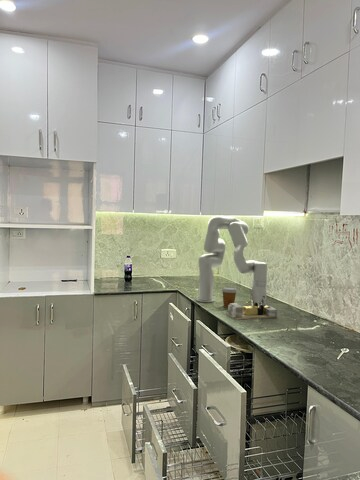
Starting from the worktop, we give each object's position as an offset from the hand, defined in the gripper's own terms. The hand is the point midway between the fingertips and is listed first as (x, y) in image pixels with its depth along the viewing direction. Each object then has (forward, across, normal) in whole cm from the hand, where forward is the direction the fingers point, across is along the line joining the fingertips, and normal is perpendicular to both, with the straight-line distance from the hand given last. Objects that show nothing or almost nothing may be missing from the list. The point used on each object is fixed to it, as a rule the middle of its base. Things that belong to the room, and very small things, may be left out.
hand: (258, 313), depth 218 cm
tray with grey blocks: (+1, 0, -5) cm, 5 cm away
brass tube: (0, 0, -2) cm, 2 cm away
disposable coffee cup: (+1, -21, -9) cm, 23 cm away
